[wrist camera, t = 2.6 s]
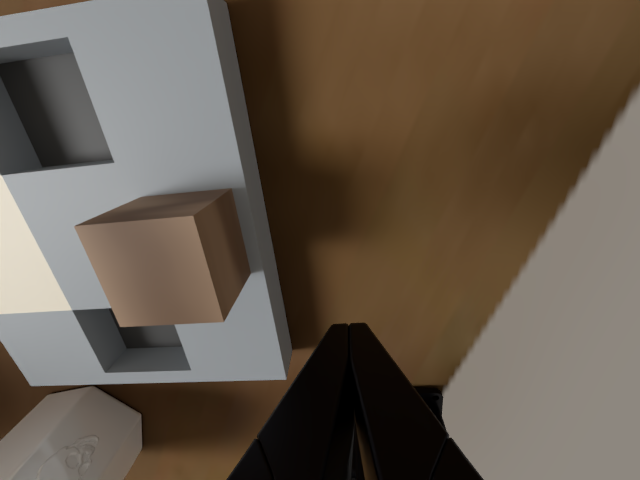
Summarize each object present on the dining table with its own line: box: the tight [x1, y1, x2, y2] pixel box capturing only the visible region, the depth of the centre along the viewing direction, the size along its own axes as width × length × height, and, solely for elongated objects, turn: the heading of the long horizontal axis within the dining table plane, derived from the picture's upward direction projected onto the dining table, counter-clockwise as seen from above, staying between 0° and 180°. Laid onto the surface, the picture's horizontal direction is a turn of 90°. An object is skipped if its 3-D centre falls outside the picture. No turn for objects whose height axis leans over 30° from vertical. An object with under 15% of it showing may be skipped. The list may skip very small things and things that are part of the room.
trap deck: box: [0, 0, 292, 386], centre depth 17 cm, size 18×20×2 cm
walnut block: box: [74, 188, 251, 327], centre depth 13 cm, size 5×5×4 cm
